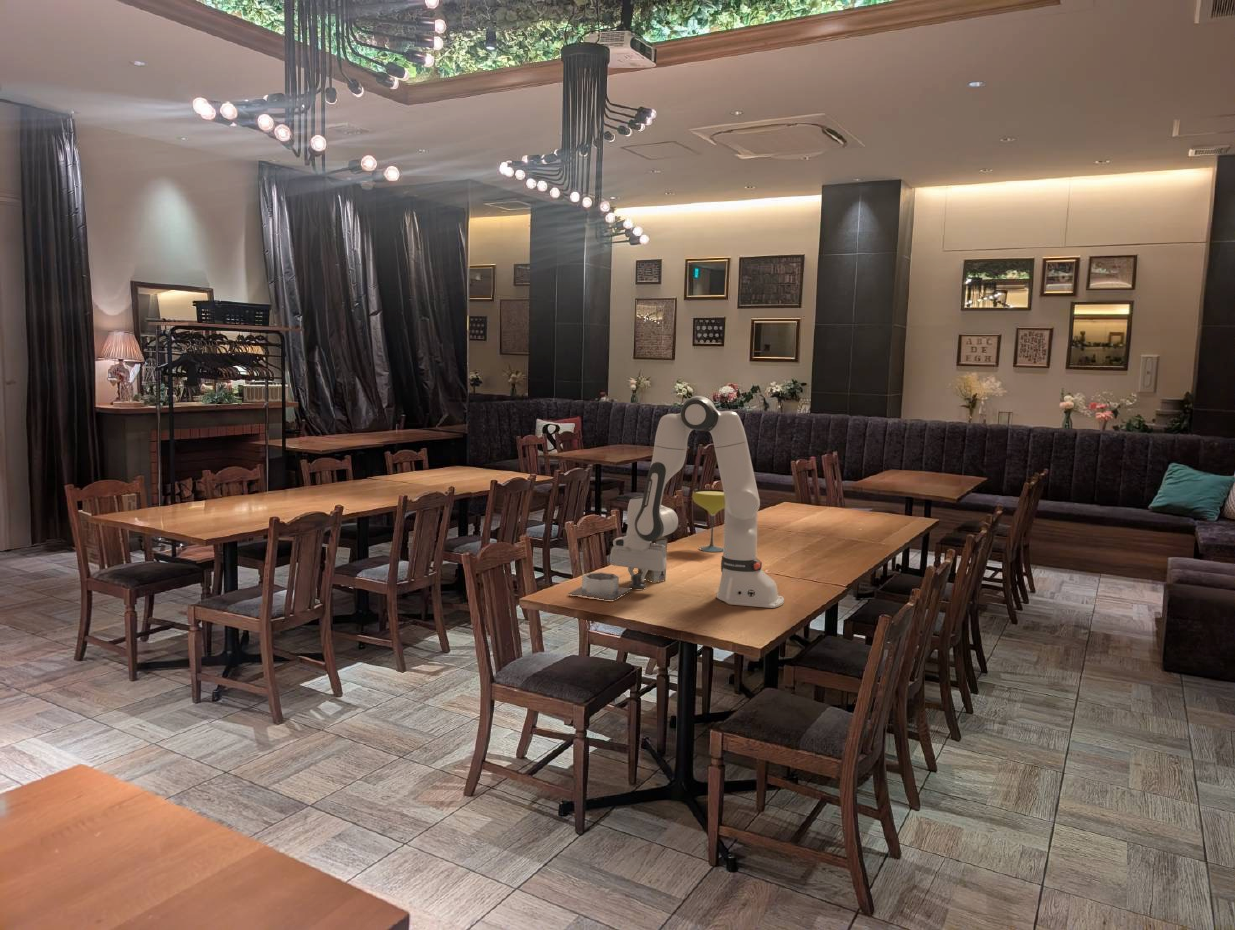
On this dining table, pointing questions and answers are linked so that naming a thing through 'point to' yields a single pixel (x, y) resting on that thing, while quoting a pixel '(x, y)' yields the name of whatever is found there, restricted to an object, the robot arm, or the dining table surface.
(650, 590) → the dining table surface
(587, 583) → the octagonal nut on plate
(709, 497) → the cocktail glass
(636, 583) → the cap
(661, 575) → the coffee box
